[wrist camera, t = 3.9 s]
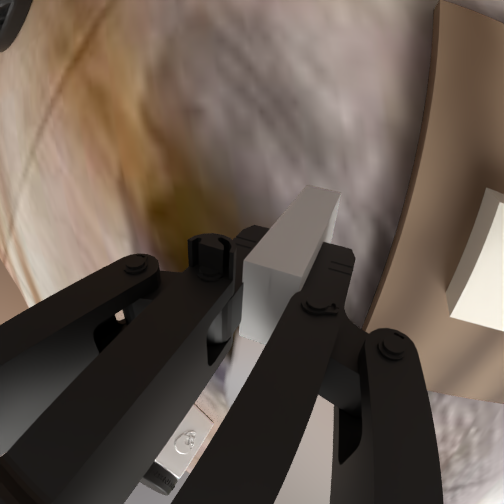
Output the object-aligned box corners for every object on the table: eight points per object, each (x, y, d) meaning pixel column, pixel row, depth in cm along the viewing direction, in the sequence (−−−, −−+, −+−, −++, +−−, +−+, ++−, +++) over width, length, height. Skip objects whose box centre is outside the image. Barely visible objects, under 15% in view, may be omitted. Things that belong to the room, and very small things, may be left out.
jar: (226, 432, 36) (183, 503, 26) (188, 429, 41) (148, 488, 31) (182, 389, 34) (127, 465, 24) (148, 390, 39) (99, 451, 29)
